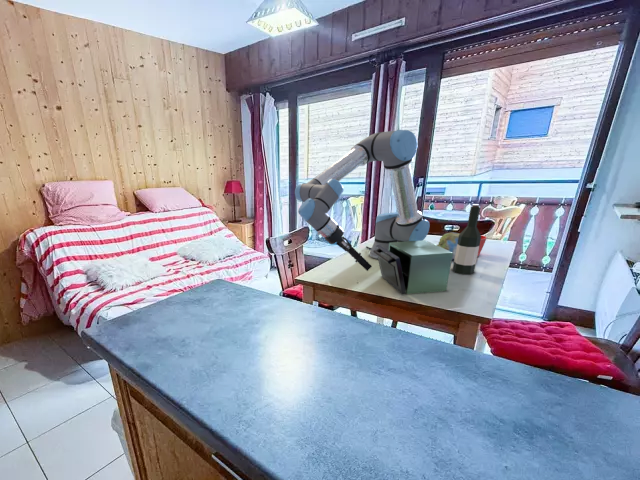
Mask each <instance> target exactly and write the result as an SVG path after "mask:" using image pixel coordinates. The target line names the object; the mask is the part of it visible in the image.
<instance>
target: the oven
mask: <svg viewBox="0 0 640 480" xmlns="http://www.w3.org/2000/svg"><path fill="white" fill-rule="evenodd" d="M437 245H438V244H434V243H432V242H430V241H428V240H426V239H424V240H421V241H406V242H391V243H389V251H390V252H391V253H393V254H394V255H396V256H398V257H399V258H400V263H401V268H402V273H403V279H404V284H405V290H406V293H405V294H406V295H410V294H411V295H412V294H425V293H436V292H447V288H448V281H449V278H450V277H449V276H450V271H451V266H452V260H453V259H452V255H453V253H452V252H450V251H448V250H446V249H444V248H441V247H439V246H437Z"/></svg>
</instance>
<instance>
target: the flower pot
mask: <svg viewBox="0 0 640 480" xmlns="http://www.w3.org/2000/svg"><path fill="white" fill-rule="evenodd" d="M480 235H481V241H480V245H479V250H478V255H477V257H479V256H480V254H481V252H482V250H483V248H484V246H485V243H486V241H487V236H486V235H482V234H480Z"/></svg>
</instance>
